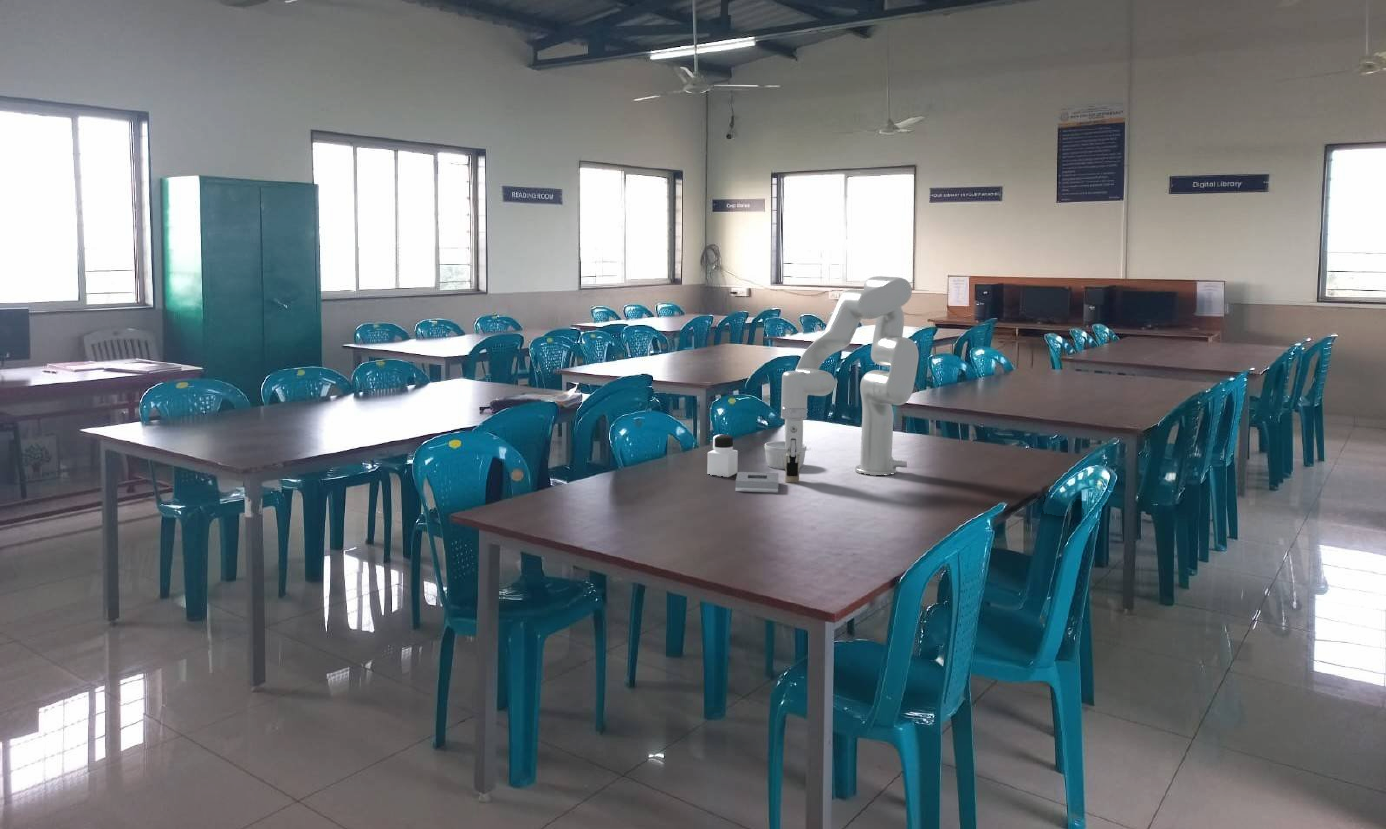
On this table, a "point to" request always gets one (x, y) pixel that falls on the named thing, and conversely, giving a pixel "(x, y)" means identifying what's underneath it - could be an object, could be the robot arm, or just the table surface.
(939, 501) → the table surface
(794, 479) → the beige upright block
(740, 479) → the plate
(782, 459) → the ramekin
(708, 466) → the medicine bottle
